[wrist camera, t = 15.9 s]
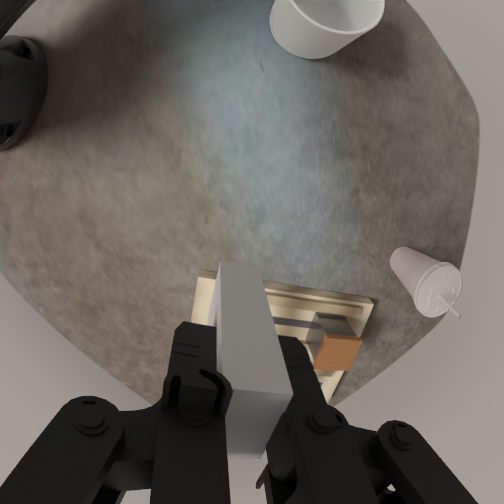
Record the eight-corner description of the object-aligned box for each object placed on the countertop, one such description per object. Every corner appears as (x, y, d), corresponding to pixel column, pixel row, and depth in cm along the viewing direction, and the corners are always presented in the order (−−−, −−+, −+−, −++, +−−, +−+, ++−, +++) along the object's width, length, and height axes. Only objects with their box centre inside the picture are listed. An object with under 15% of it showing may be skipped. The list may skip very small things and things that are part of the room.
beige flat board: (182, 381, 43) (180, 394, 40) (199, 269, 37) (197, 279, 35) (324, 395, 46) (328, 407, 44) (368, 297, 40) (376, 307, 38)
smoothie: (371, 262, 39) (429, 319, 26) (405, 226, 37) (474, 269, 24) (396, 290, 41) (452, 349, 27) (428, 257, 39) (492, 305, 26)
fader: (303, 339, 39) (314, 369, 34) (314, 310, 38) (327, 337, 32) (334, 342, 40) (348, 371, 34) (346, 314, 38) (362, 341, 33)
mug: (378, 46, 29) (428, 23, 19) (286, 70, 30) (311, 44, 20) (349, -14, 26) (387, -52, 16) (255, 5, 27) (267, -40, 17)
